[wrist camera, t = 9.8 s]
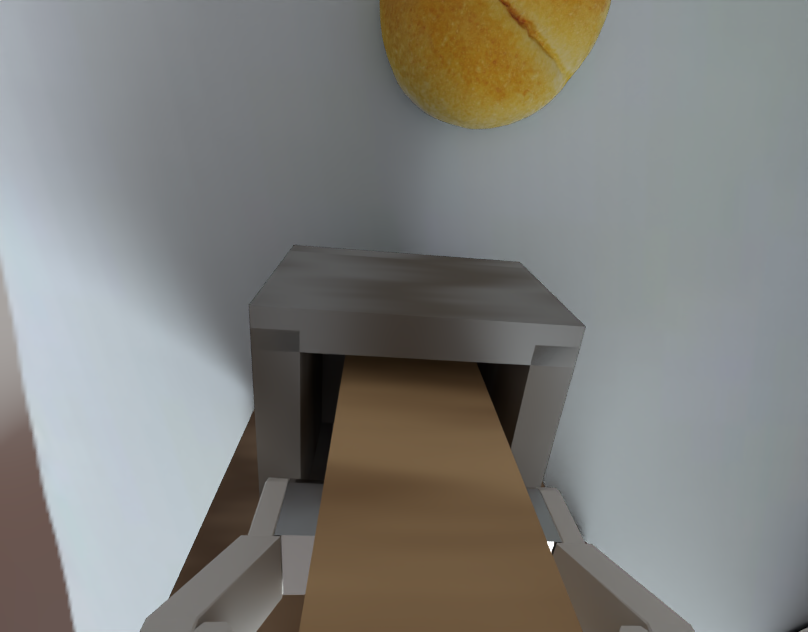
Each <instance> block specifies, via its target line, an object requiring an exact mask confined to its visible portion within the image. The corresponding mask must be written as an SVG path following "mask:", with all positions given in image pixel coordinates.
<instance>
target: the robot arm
mask: <svg viewBox="0 0 808 632" xmlns="http://www.w3.org/2000/svg"><path fill="white" fill-rule="evenodd" d="M323 485H324V480H309V479H292V478H290V479H284V478H268V479H267V481H266V482H265V485H264V488H263V491H262V494H261V497H260V500H259V503H258V506H257V509H256V512H255V515H254V518H253V521H252V524H251V527H250V530H249V533H248V535H241V536H240V537H239V538H237V539H236V540H235V541H234V542H233V543H232V544H231V545H229V546H228V547H227V548H226V549H225V550H224V551H223V552H221V553H220V554H219V555H218V556H217V557H216V558H215V559H213V560H212V561H211V562H210V563H209V564H208V565H207V566H205V567H204V568H203V569H202V570H201V571H200V572H199V573H197V574H196V575H195V576H194V577H193V578H192V579H191V580H189V581H188V582H187V583H186V584H185V585H184V586H183V587H181V588H180V589H179V590H178V591H177V592H176V593H175V594H174V595H172V596H171V597H170V598H169V599H168V600H167V601H166V602H164V603H163V604H162V605H161V606H160V607H159V608H158V609H156V610H155V611H154V612H153V613H152V614H151V615H150V616H148V617H147V618H146V620H145V622H144V624H143V626H142V628H141V630H140V632H256V631H257V630H258V629H259V627H260V626H261V625H262V623H263V622H264V621H265V620H266V618H267V617H268V616H269V614H270V613H271V612H272V610H273V609H274V608H275V606H276V605H277V604H278V603H279V601H280V600H281V599H282V595H305V593H306V587H307V581H308V575H309V569H310V563H311V557H312V551H313V545H314V539H315V533H316V527H317V521H318V515H319V509H320V503H321V497H322V491H323ZM526 489H527V492H528V494H529V497H530V499H531V502H532V504H533V507H534V509H535V512H536V515H537V517H538V520H539V522H540V525H541V527H542V530H543V532H544V535H545V537H546V540H547V542H548V545H549V547H550V550H551V552H552V555H553V558H554V560H555V563H556V565H557V568H558V570H559V573H560V575H561V578H562V580H563V583H564V585H565V588H566V590H567V593H568V596H569V598H570V601H571V603H572V606H573V608H574V611H575V613H576V616H577V618H578V621H579V623H580V626H581V628H582V631H583V632H695V631H694V629H693V628H692V626H691V625H690V624H689V623H688V622H686V621H685V620H684V619H683V618H682V617H680V616H679V615H678V614H677V613H675V612H674V611H673V610H672V609H671V608H669V607H668V606H667V605H666V604H664V603H663V602H662V601H661V600H660V599H658V598H657V597H656V596H655V595H653V594H652V593H651V592H650V591H649V590H647V589H646V588H645V587H644V586H642V585H641V584H640V583H639V582H638V581H636V580H635V579H634V578H633V577H631V576H630V575H629V574H628V573H626V572H625V571H624V570H623V569H622V568H620V567H619V566H618V565H617V564H615V563H614V562H613V561H612V560H611V559H609V558H608V557H607V556H606V555H604V554H603V553H602V552H601V551H600V550H598V549H597V548H596V547H595V546H593V545H592V544H585V542H584V540H583V538H582V536H581V534H580V532H579V529H578V527H577V525H576V523H575V521H574V519H573V517H572V515H571V513H570V511H569V509H568V507H567V505H566V503H565V501H564V499H563V497H562V495H561V493H560V491H559V490H558V489H557V488H551V487H536V488H535V487H526ZM799 632H808V627H807V628H805V629H803V630H801V631H799Z"/></svg>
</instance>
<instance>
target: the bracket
mask: <svg viewBox="0 0 808 632" xmlns="http://www.w3.org/2000/svg"><path fill="white" fill-rule="evenodd" d="M249 318H250V336H251V354H252V372H253V390H254V408H255V409H254V411H253V413H252V415H251V417H250V420H249V422H248V424H247V426H246V429H245V431H244V433H243V435H242V437H241V440H240V442H239V444H238V446H237V448H236V451H235V453H234V455H233V457H232V459H231V462H230V464H229V466H228V468H227V471H226V473H225V475H224V477H223V479H222V482H221V484H220V486H219V488H218V490H217V493H216V495H215V497H214V499H213V501H212V504H211V506H210V508H209V510H208V513H207V515H206V517H205V519H204V521H203V524H202V526H201V528H200V530H199V532H198V535H197V537H196V539H195V541H194V543H193V546H192V548H191V550H190V552H189V555H188V557H187V559H186V561H185V563H184V566H183V568H182V570H181V572H180V574H179V577H178V579H177V581H176V583H175V585H174V588H173V590H172V592H171V594H170V597H171V596H172V595H174V594H175V593H176V592H177V591H178V590H179V589H180V588H181V587H183V586H184V585H185V584H186V583H187V582H188V581H189V580H191V579H192V578H193V577H194V576H195V575H196V574H197V573H199V572H200V571H201V570H202V569H203V568H204V567H205V566H207V565H208V564H209V563H210V562H211V561H212V560H213V559H215V558H216V557H217V556H218V555H219V554H220V553H221V552H223V551H224V550H225V549H226V548H227V547H228V546H229V545H231V544H232V543H233V542H234V541H235V540H236V539H237V538H239V537H240V536H241V535H248V533H249V530H250V527H251V524H252V521H253V518H254V515H255V512H256V509H257V506H258V503H259V500H260V497H261V494H262V491H263V488H264V485H265V482H266V481H267V479H268V478H284V479H290V478H292V479H309V480H324V479H325V474H326V468H327V462H328V456H329V450H330V444H331V438H332V432H333V426H334V420H335V414H336V408H337V402H338V396H339V390H340V384H341V378H342V372H343V366H344V360H345V355H358V356H376V357H394V358H412V359H429V360H447V361H465V362H476V363H477V365H478V368H479V370H480V373H481V375H482V378H483V380H484V383H485V385H486V388H487V391H488V393H489V396H490V398H491V401H492V403H493V406H494V408H495V411H496V413H497V416H498V418H499V421H500V423H501V426H502V428H503V431H504V434H505V436H506V439H507V441H508V444H509V446H510V449H511V451H512V454H513V456H514V459H515V461H516V464H517V466H518V469H519V472H520V474H521V477H522V479H523V482H524V484H525V487H535V488H536V487H545V486H544V484H543V477H544V474H545V470H546V467H547V463H548V459H549V456H550V452H551V449H552V445H553V442H554V438H555V435H556V431H557V428H558V424H559V420H560V417H561V413H562V410H563V406H564V403H565V399H566V396H567V392H568V389H569V385H570V381H571V378H572V374H573V371H574V367H575V364H576V360H577V357H578V353H579V350H580V346H581V342H582V339H583V335H584V332H585V328H586V326H585V325H584V324H583V323H582V322H580V321H579V320H578V319H577V318H576V317H575V316H574V315H573V314H572V313H571V312H570V311H569V310H568V309H567V308H566V307H565V306H564V305H563V304H562V303H561V302H560V301H559V300H558V299H557V298H556V297H555V296H554V295H553V294H552V293H551V292H550V291H549V290H548V289H547V288H546V287H545V286H544V285H543V284H542V283H541V282H540V281H539V280H538V279H536V278H535V277H534V276H533V275H532V274H531V273H530V272H529V271H528V270H527V269H526V268H525V267H524V266H523V265H522V264H521V263H520V262H513V261H500V260H487V259H473V258H460V257H447V256H433V255H420V254H407V253H394V252H380V251H367V250H354V249H341V248H327V247H314V246H301V245H293V247H292V248H291V249H290V251H289V252H288V253H287V255H286V256H285V257H284V259H283V260H282V261H281V263H280V264H279V265H278V267H277V268H276V269H275V271H274V272H273V273H272V275H271V276H270V277H269V279H268V280H267V282H266V283H265V284H264V286H263V287H262V288H261V290H260V291H259V292H258V294H257V295H256V296H255V298H254V299H253V300H252V302H251V303H250V304H249ZM170 597H169V598H170ZM304 598H305V595H282V599H281V600H280V601H279V603H278V604H277V605H276V606H275V608H274V609H273V610H272V612H271V613H270V614H269V616H268V617H267V618H266V620H265V621H264V622H263V623H262V625H261V626H260V627H259V629H258V630H257V631H256V632H299V628H300V622H301V616H302V610H303V604H304Z"/></svg>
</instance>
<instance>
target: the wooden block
mask: <svg viewBox="0 0 808 632" xmlns="http://www.w3.org/2000/svg"><path fill="white" fill-rule="evenodd" d="M299 632H583V631H582V628H581V626H580V623H579V621H578V618H577V616H576V613H575V611H574V608H573V606H572V603H571V601H570V598H569V596H568V593H567V590H566V588H565V585H564V583H563V580H562V578H561V575H560V573H559V570H558V568H557V565H556V563H555V560H554V558H553V555H552V552H551V550H550V547H549V545H548V542H547V540H546V537H545V535H544V532H543V530H542V527H541V525H540V522H539V520H538V517H537V515H536V512H535V509H534V507H533V504H532V502H531V499H530V497H529V494H528V492H527V489H526V487H525V484H524V482H523V479H522V477H521V474H520V472H519V469H518V466H517V464H516V461H515V459H514V456H513V454H512V451H511V449H510V446H509V444H508V441H507V439H506V436H505V434H504V431H503V428H502V426H501V423H500V421H499V418H498V416H497V413H496V411H495V408H494V406H493V403H492V401H491V398H490V396H489V393H488V391H487V388H486V385H485V383H484V380H483V378H482V375H481V373H480V370H479V368H478V365H477V363H476V362H465V361H447V360H429V359H412V358H394V357H376V356H358V355H345V360H344V366H343V372H342V378H341V384H340V390H339V396H338V402H337V408H336V414H335V420H334V426H333V432H332V438H331V444H330V450H329V456H328V462H327V468H326V474H325V479H324V485H323V491H322V497H321V503H320V509H319V515H318V521H317V527H316V533H315V539H314V545H313V551H312V557H311V563H310V569H309V575H308V581H307V587H306V593H305V598H304V604H303V610H302V616H301V622H300V628H299Z"/></svg>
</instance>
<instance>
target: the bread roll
mask: <svg viewBox="0 0 808 632" xmlns="http://www.w3.org/2000/svg"><path fill="white" fill-rule="evenodd" d="M610 3H611V0H380V22H381V31H382V38H383V42H384V47H385V50H386V54H387V57H388V60H389V62H390V65H391V68H392V70H393V73H394V76H395V78H396V80H397V82H398V84H399V86H400V87H401V89H402V90H403V92H404V93H405V94H406V95H407V96H408V97H409V98H410V99H411V101H412V102H413V103H414V104H415V105H416V106H418V107H419V108H420V109H421V110H422V111H424V112H425V113H427V114H428V115H430V116H432V117H434V118H436V119H438V120H440V121H443V122H446V123H449V124H453V125H456V126H461V127H464V128H469V129H487V128H495V127H499V126H505V125H509V124H512V123H514V122H517V121H519V120H521V119H522V118H527V117H528V116H530V115H532V114H534V113H535V112H537V111H538V110H540V109H542V108H543V107H544V106H545V105H546V104H548V103H549V102H550V101H551V100H552V99H553V98H554V97H555V96H556V95H557V94H558V93H559V92H560V91H561V90H562V88H563V87H564V86H565V84H566V83H567V81H568V80H569V79H570V78H571V76H572V75H573V74H574V73H575V72H576V70H577V69H578V68H579V67H580V65H581V64H582V62H583V61H584V60H585V58H586V57H587V55H588V54H589V53H590V51H591V49H592V48H593V46H594V44H595V42H596V40H597V38H598V36H599V33H600V31H601V29H602V27H603V24H604V22H605V19H606V16H607V14H608V10H609V7H610Z"/></svg>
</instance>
